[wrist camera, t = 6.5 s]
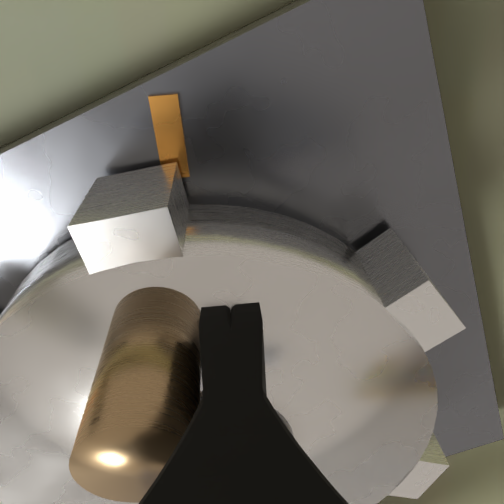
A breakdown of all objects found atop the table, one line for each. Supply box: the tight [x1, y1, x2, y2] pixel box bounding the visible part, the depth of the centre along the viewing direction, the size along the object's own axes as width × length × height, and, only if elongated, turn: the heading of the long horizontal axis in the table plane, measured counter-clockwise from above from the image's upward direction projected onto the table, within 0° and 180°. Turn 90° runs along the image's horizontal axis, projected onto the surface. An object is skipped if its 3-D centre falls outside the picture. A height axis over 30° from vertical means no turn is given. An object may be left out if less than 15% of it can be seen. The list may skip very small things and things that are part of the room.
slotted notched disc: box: [0, 162, 466, 504], centre depth 14 cm, size 17×19×7 cm
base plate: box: [0, 0, 504, 457], centre depth 18 cm, size 22×22×2 cm
